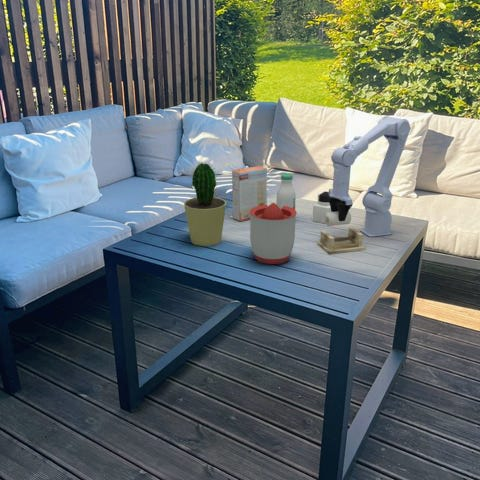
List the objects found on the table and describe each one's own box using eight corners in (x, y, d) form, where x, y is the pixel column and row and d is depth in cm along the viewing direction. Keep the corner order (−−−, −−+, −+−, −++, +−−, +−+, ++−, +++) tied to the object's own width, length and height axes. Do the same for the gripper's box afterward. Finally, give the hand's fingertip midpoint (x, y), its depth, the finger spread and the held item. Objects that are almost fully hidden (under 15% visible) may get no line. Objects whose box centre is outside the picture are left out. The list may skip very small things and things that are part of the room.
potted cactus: (235, 240, 191) (235, 161, 179) (205, 251, 180) (203, 168, 169) (207, 230, 200) (205, 154, 189) (177, 240, 190) (173, 161, 179)
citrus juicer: (296, 249, 183) (298, 195, 175) (292, 269, 167) (295, 211, 159) (253, 246, 185) (254, 193, 178) (245, 265, 169) (246, 208, 162)
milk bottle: (289, 226, 204) (291, 178, 197) (272, 223, 208) (273, 175, 201) (297, 221, 210) (299, 173, 203) (281, 217, 214) (282, 171, 207)
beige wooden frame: (317, 244, 187) (317, 230, 185) (351, 239, 191) (352, 226, 189) (329, 254, 178) (330, 239, 176) (364, 249, 182) (366, 235, 180)
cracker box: (258, 212, 221) (259, 165, 213) (267, 216, 216) (268, 167, 208) (231, 218, 213) (231, 169, 206) (239, 222, 209) (239, 172, 201)
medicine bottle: (335, 219, 212) (337, 191, 208) (328, 224, 206) (330, 196, 202) (319, 216, 216) (321, 189, 211) (312, 221, 210) (313, 193, 206)
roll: (343, 220, 189) (345, 208, 187) (350, 226, 185) (352, 214, 183) (323, 222, 187) (325, 210, 185) (329, 228, 183) (331, 216, 180)
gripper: (322, 177, 185) (319, 213, 190) (340, 188, 172) (337, 225, 177) (339, 176, 187) (336, 211, 192) (359, 186, 174) (355, 224, 179)
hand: (338, 218), depth 185 cm, fingers closed on roll, 5 cm apart
